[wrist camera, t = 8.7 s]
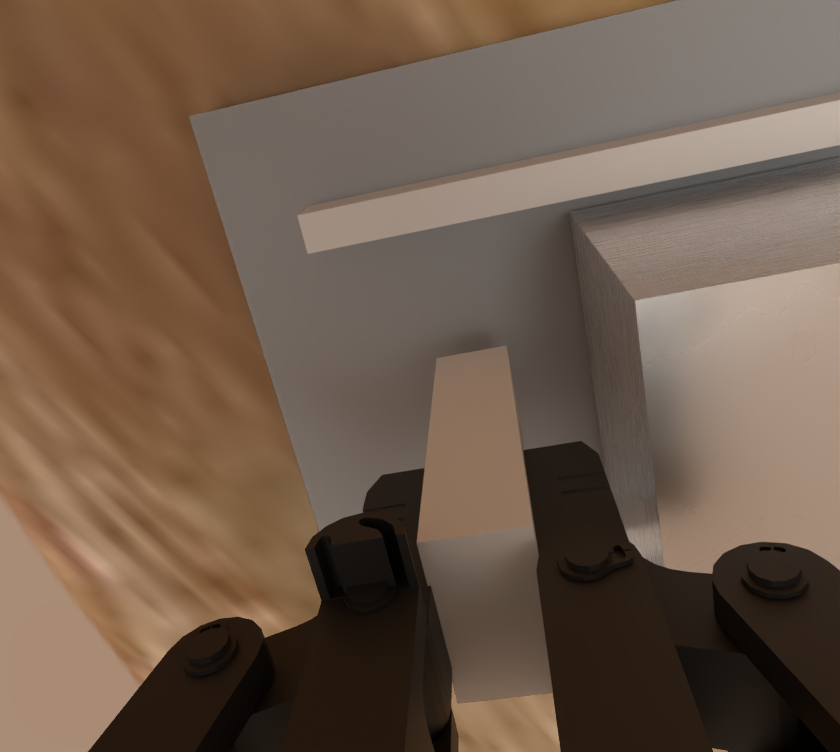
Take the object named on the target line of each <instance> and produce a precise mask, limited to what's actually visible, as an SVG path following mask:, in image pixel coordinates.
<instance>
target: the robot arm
mask: <svg viewBox="0 0 840 752" xmlns="http://www.w3.org/2000/svg"><path fill="white" fill-rule="evenodd" d="M305 551H306V554H307V557H308V560H309V564H310V567H311V570H312V573H313V576H314V579H315V582H316V585H317V588H318V591H319V594H320V597H321V600H322V601H321V605H320V609H319V612H318V615H317V616H316V617H314V618H313V619H311V620H309V621H307V622H305V623H303V624H300V625H298V626H296V627H293V628H291V629H288V630H285V631H283V632H280V633H277V634H274V635H272V636H269V637H266V638H264V635H263V632H262V630H261V628H260V627H259V626H258V625H257V624H256V623H255V622H254V621H253V620H249V619H245V618H241V617H232V618H223V619H218V620H215V621H212V622H210V623H207V624H204V625H201V626H200V627H198V628H196V629H195V630H193V631H192V632H190V633H188V634H187V635H185V636H183V637H182V638H181V639H180V640H179V641H178V642H177V643H176V644H175V645H174V646H173V647H172V648H171V649H170V650H169V651H168V652H167V653H166V655H165V656H164V657H163V658H162V660H161V661H160V662H159V663H158V665H157V666H156V667H155V668H154V670H153V671H152V672H151V673H150V675H149V676H148V677H147V678H146V680H145V681H144V682H143V683H142V685H141V686H140V687H139V688H138V690H137V691H136V692H135V694H134V695H133V696H132V697H131V699H130V700H129V701H128V702H127V704H126V705H125V706H124V707H123V709H122V710H121V711H120V713H119V714H118V715H117V716H116V717H115V719H114V720H113V721H112V722H111V724H110V725H109V726H108V727H107V729H106V730H105V731H104V732H103V734H102V735H101V736H100V737H99V739H98V740H97V741H96V742H95V744H94V745H93V746H92V748H91V749H90V750H89V751H88V752H458V732H457V728H456V723H455V719H454V716H453V712H452V708H451V693H452V683H453V686H454V690H455V694H456V698H457V702H458V703H467V702H476V701H485V700H493V699H502V698H511V697H520V696H529V695H537V694H546V693H553V697H554V705H555V712H556V719H557V727H558V734H559V741H560V749H561V752H713V750H712V748H715V749H721V750H726V751H728V752H840V570H839V569H837V568H836V567H835V566H834V565H832V564H831V563H830V562H829V561H827V560H826V559H824V558H822V557H821V556H819V555H817V554H815V553H814V552H812V551H810V550H808V549H805V548H801V547H798V546H794V545H791V544H787V543H775V542H757V543H751V544H745V545H740V546H738V547H735V548H733V549H731V550H729V551H727V552H725V553H723V554H722V555H721V557H720V558H719V559H718V560H717V561H716V562H715V564H714V565H713V572H712V574H710V573H698V572H686V571H680V570H674V569H669V568H666V567H663V566H660V565H657V564H654V563H652V562H651V561H649V560H647V559H645V558H643V557H642V555H641V554H640V552H639V551H638V549H637V548H636V547H635V545H634V544H632V543H630V542H629V539H628V537H627V534H626V531H625V528H624V525H623V522H622V519H621V516H620V514H619V511H618V508H617V505H616V502H615V499H614V496H613V494H612V491H611V488H610V485H609V482H608V479H607V476H606V474H605V471H604V468H603V465H602V462H601V459H600V456H599V453H597V452H596V451H594V450H593V449H592V448H590V447H589V446H588V445H586V444H585V443H583V442H582V441H577V442H571V443H565V444H558V445H552V446H546V447H540V448H533V449H527V450H525V445H524V439H523V434H522V428H521V423H520V417H519V412H518V406H517V401H516V395H515V390H514V384H513V379H512V373H511V368H510V362H509V357H508V351H507V346H501V347H495V348H490V349H484V350H479V351H473V352H467V353H462V354H456V355H451V356H445V357H440V358H437V359H436V368H435V378H434V387H433V396H432V405H431V415H430V424H429V433H428V442H427V452H426V461H425V468H422V469H416V470H409V471H403V472H397V473H391V474H384V475H381V477H380V478H379V479H378V480H377V481H376V482H375V483H374V485H373V486H372V487H371V488H370V489H369V490H368V491H367V494H366V498H365V502H364V506H363V513H360V514H356V515H352V516H348V517H344V518H342V519H340V520H338V521H336V522H334V523H331V524H329V525H327V526H326V527H324V528H323V529H322V530H321V531H319V532H318V533H317V534H316V535H315V536H313V537H312V539H311V540H310V542H309V544H308V545H307V547H306V548H305Z"/></svg>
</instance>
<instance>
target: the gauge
mask: <svg viewBox="0 0 840 752" xmlns="http://www.w3.org/2000/svg"><path fill="white" fill-rule="evenodd" d="M569 214H570V221H571V229H572V236H573V243H574V250H575V257H576V265H577V272H578V279H579V286H580V293H581V301H582V308H583V315H584V322H585V329H586V337H587V344H588V351H589V358H590V365H591V373H592V380H593V387H594V394H595V401H596V409H597V416H598V423H599V430H600V437H601V445H602V452H603V459H604V466H605V474H606V476H607V479H608V482H609V485H610V488H611V491H612V494H613V496H614V499H615V502H616V505H617V508H618V511H619V514H620V516H621V519H622V522H623V525H624V528H625V531H626V534H627V537H628V539H629V542H630V543H632V544H634V545H635V547H636V548H637V549H638V551H639V552H640V554H641V555H642V557H643V558H645V559H647V560H649V561H651V562H652V563H654V564H657V565H660V566H663V567H666V568H669V569H674V570H680V571H686V572H698V573H710V574H712V572H713V565H714V564H715V562H716V561H717V560H718V559H719V558H720V557H721V555H722V554H723V553H725V552H727V551H729V550H731V549H733V548H735V547H738V546H740V545H745V544H751V543H757V542H775V543H787V544H791V545H794V546H798V547H801V548H805V549H808V550H810V551H812V552H814V553H815V554H817V555H819V556H821V557H822V558H824V559H826V560H827V561H829V562H830V563H831V564H832V565H834V566H835V567H836V568H837V569H839V570H840V157H838V158H833V159H828V160H823V161H818V162H813V163H808V164H804V165H799V166H794V167H789V168H784V169H779V170H774V171H769V172H764V173H759V174H754V175H749V176H744V177H739V178H734V179H730V180H725V181H720V182H715V183H710V184H705V185H700V186H695V187H690V188H685V189H680V190H675V191H670V192H665V193H661V194H656V195H651V196H646V197H641V198H636V199H631V200H626V201H621V202H616V203H611V204H606V205H601V206H596V207H592V208H587V209H582V210H577V211H572V212H569Z"/></svg>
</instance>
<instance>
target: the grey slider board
mask: <svg viewBox="0 0 840 752" xmlns="http://www.w3.org/2000/svg"><path fill="white" fill-rule="evenodd" d="M189 119H190V122H191V125H192V128H193V131H194V135H195V138H196V141H197V144H198V147H199V151H200V154H201V157H202V160H203V163H204V166H205V170H206V173H207V176H208V179H209V182H210V186H211V189H212V192H213V195H214V198H215V201H216V205H217V208H218V211H219V214H220V217H221V221H222V224H223V227H224V230H225V233H226V237H227V240H228V243H229V246H230V249H231V252H232V256H233V259H234V262H235V265H236V268H237V272H238V275H239V278H240V281H241V284H242V287H243V291H244V294H245V297H246V300H247V303H248V307H249V310H250V313H251V316H252V319H253V322H254V326H255V329H256V332H257V335H258V338H259V342H260V345H261V348H262V351H263V354H264V357H265V361H266V364H267V367H268V370H269V373H270V377H271V380H272V383H273V386H274V389H275V392H276V396H277V399H278V402H279V405H280V408H281V412H282V415H283V418H284V421H285V424H286V427H287V431H288V434H289V437H290V440H291V443H292V447H293V450H294V453H295V456H296V459H297V462H298V466H299V469H300V472H301V475H302V478H303V482H304V485H305V488H306V491H307V494H308V497H309V501H310V504H311V507H312V510H313V513H314V517H315V520H316V523H317V526H318V529H319V531H321V530H322V529H323V528H324V527H326V526H327V525H329V524H331V523H334V522H336V521H338V520H340V519H342V518H344V517H348V516H352V515H356V514H360V513H363V506H364V502H365V498H366V494H367V491H368V490H369V489H370V488H371V487H372V486H373V485H374V483H375V482H376V481H377V480H378V479H379V478H380V477H381V475H384V474H391V473H397V472H403V471H409V470H416V469H422V468H425V461H426V452H427V442H428V433H429V424H430V415H431V405H432V396H433V387H434V378H435V368H436V359H437V358H440V357H445V356H451V355H456V354H462V353H467V352H473V351H479V350H484V349H490V348H495V347H501V346H507V351H508V357H509V362H510V368H511V373H512V379H513V384H514V390H515V395H516V401H517V406H518V412H519V417H520V423H521V428H522V434H523V439H524V445H525V450H527V449H533V448H540V447H546V446H552V445H558V444H565V443H571V442H577V441H582V442H583V443H585V444H586V445H588V446H589V447H590V448H592V449H593V450H594V451H596V452H597V453H599V456H600V459H601V462H602V465H603V468H604V471H605V466H604V459H603V452H602V445H601V437H600V430H599V423H598V416H597V409H596V401H595V394H594V387H593V380H592V373H591V365H590V358H589V351H588V344H587V337H586V329H585V322H584V315H583V308H582V301H581V293H580V286H579V279H578V272H577V265H576V257H575V250H574V243H573V236H572V229H571V221H570V214H569V212H572V211H577V210H582V209H587V208H592V207H596V206H601V205H606V204H611V203H616V202H621V201H626V200H631V199H636V198H641V197H646V196H651V195H656V194H661V193H665V192H670V191H675V190H680V189H685V188H690V187H695V186H700V185H705V184H710V183H715V182H720V181H725V180H730V179H734V178H739V177H744V176H749V175H754V174H759V173H764V172H769V171H774V170H779V169H784V168H789V167H794V166H799V165H804V164H808V163H813V162H818V161H823V160H828V159H833V158H838V157H840V0H676V1H672V2H668V3H663V4H659V5H655V6H651V7H647V8H642V9H638V10H634V11H630V12H625V13H621V14H617V15H613V16H609V17H604V18H600V19H596V20H592V21H588V22H583V23H579V24H575V25H571V26H567V27H562V28H558V29H554V30H550V31H545V32H541V33H537V34H533V35H529V36H524V37H520V38H516V39H512V40H508V41H503V42H499V43H495V44H491V45H487V46H482V47H478V48H474V49H470V50H466V51H461V52H457V53H453V54H449V55H444V56H440V57H436V58H432V59H428V60H423V61H419V62H415V63H411V64H407V65H402V66H398V67H394V68H390V69H386V70H381V71H377V72H373V73H369V74H364V75H360V76H356V77H352V78H348V79H343V80H339V81H335V82H331V83H327V84H322V85H318V86H314V87H310V88H306V89H301V90H297V91H293V92H289V93H284V94H280V95H276V96H272V97H268V98H263V99H259V100H255V101H251V102H247V103H242V104H238V105H234V106H230V107H226V108H221V109H217V110H213V111H209V112H205V113H200V114H196V115H192V116H189Z"/></svg>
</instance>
